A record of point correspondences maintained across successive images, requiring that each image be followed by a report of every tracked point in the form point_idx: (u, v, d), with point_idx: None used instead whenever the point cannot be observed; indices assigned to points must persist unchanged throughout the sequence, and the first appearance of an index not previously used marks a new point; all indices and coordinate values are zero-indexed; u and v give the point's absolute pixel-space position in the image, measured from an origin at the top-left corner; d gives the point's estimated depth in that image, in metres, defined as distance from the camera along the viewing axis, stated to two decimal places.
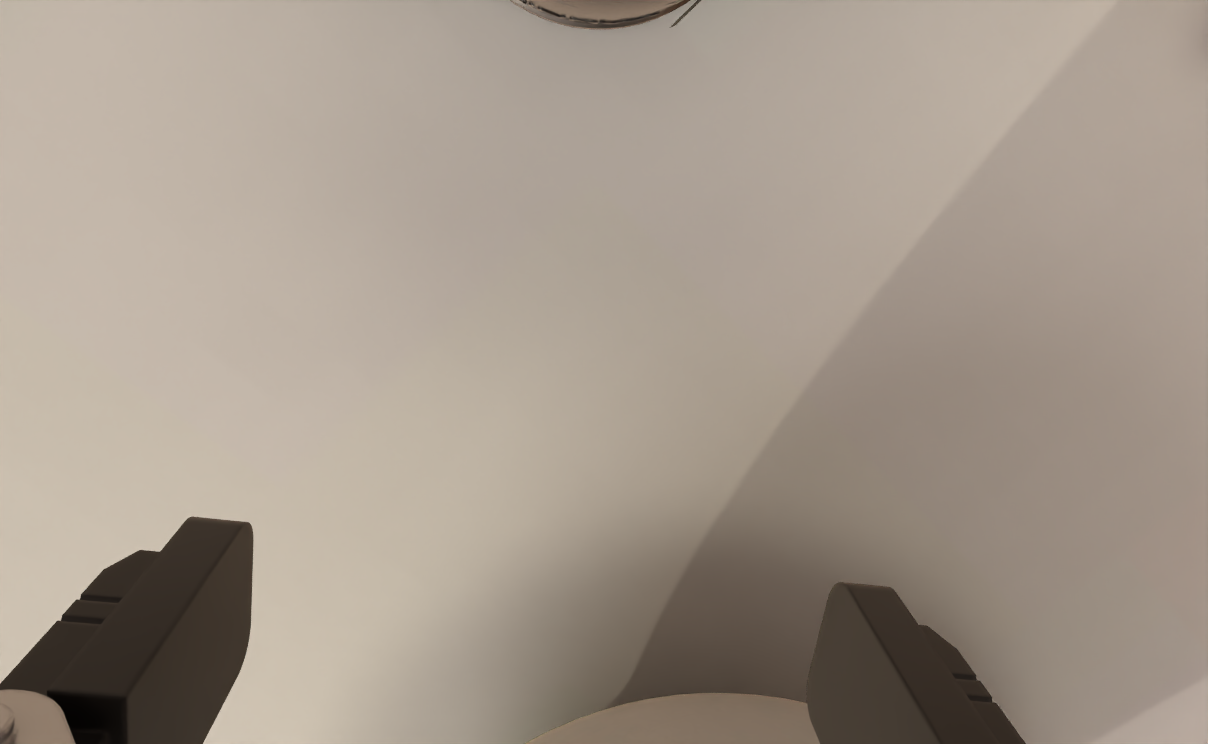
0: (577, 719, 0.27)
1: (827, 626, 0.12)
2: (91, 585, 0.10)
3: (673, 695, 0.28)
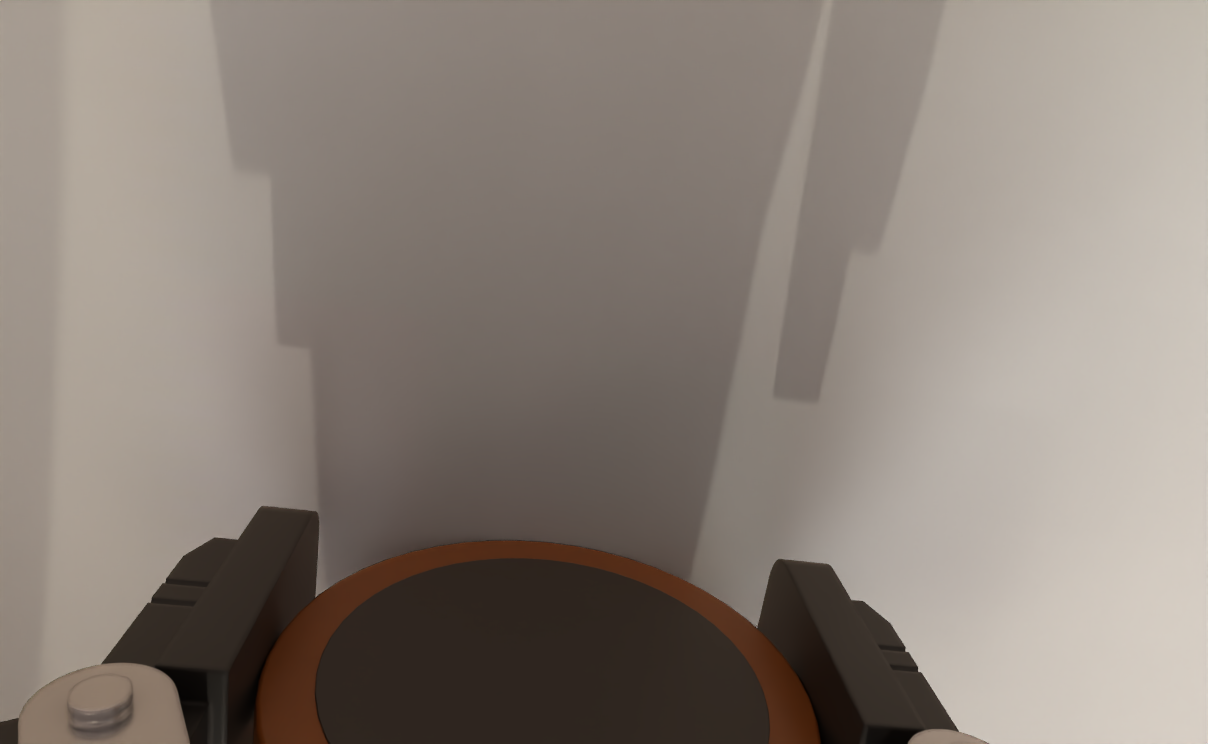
0: None
1: (768, 602, 0.13)
2: (174, 570, 0.11)
3: None
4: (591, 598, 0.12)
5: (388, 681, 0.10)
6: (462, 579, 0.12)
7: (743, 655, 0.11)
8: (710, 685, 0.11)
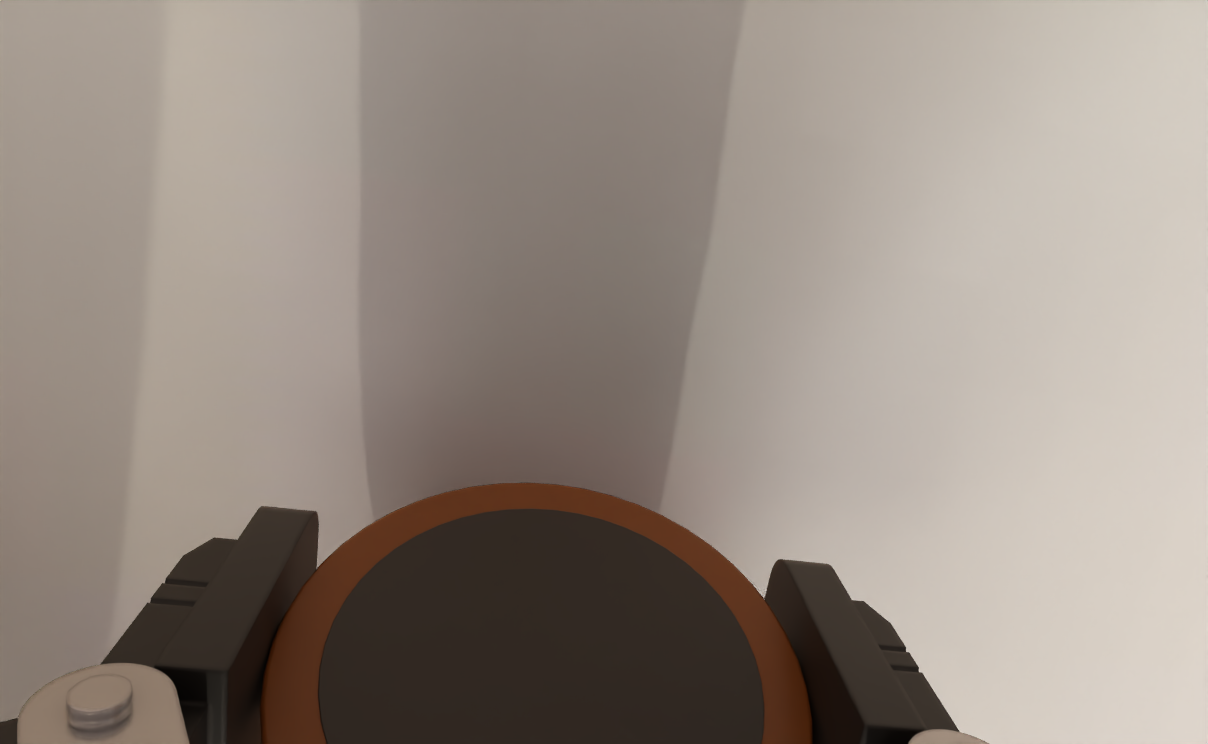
0: None
1: (769, 602, 0.13)
2: (174, 570, 0.11)
3: None
4: (596, 562, 0.12)
5: (390, 675, 0.10)
6: (467, 539, 0.12)
7: (745, 634, 0.11)
8: (708, 675, 0.11)
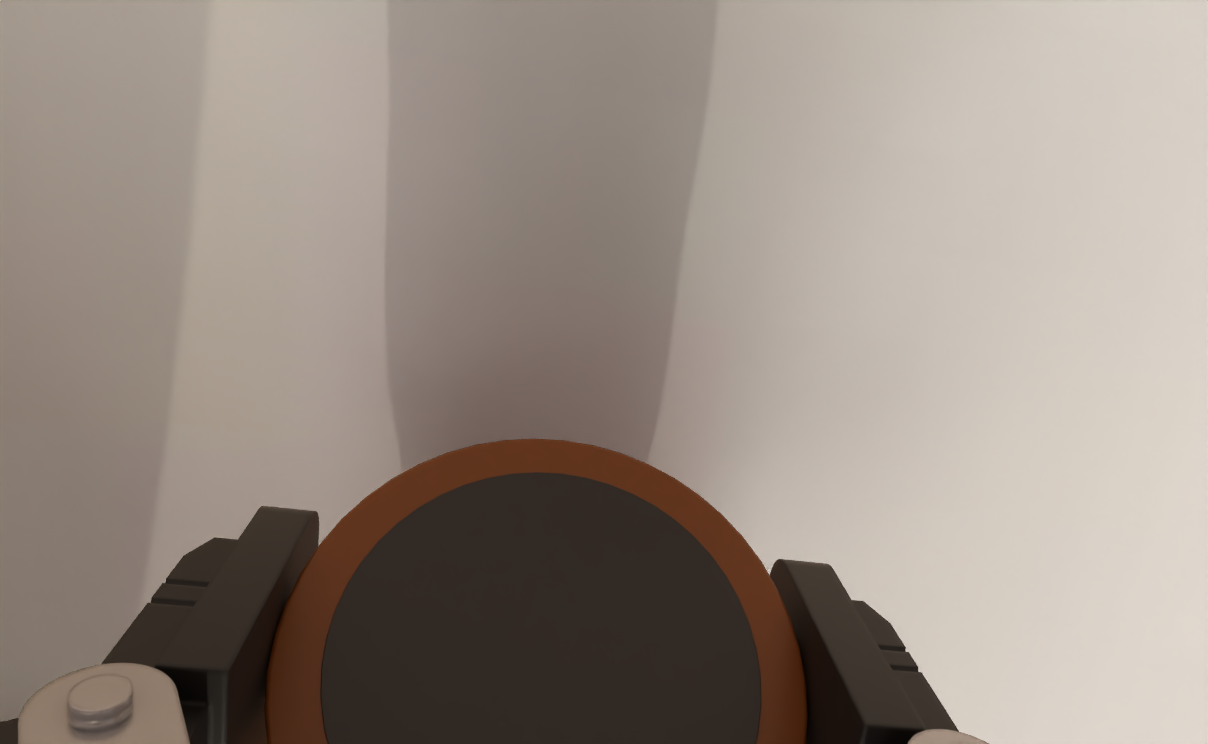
0: None
1: None
2: (174, 570, 0.11)
3: None
4: (602, 537, 0.12)
5: (391, 673, 0.10)
6: (470, 511, 0.12)
7: (748, 621, 0.11)
8: (707, 670, 0.11)
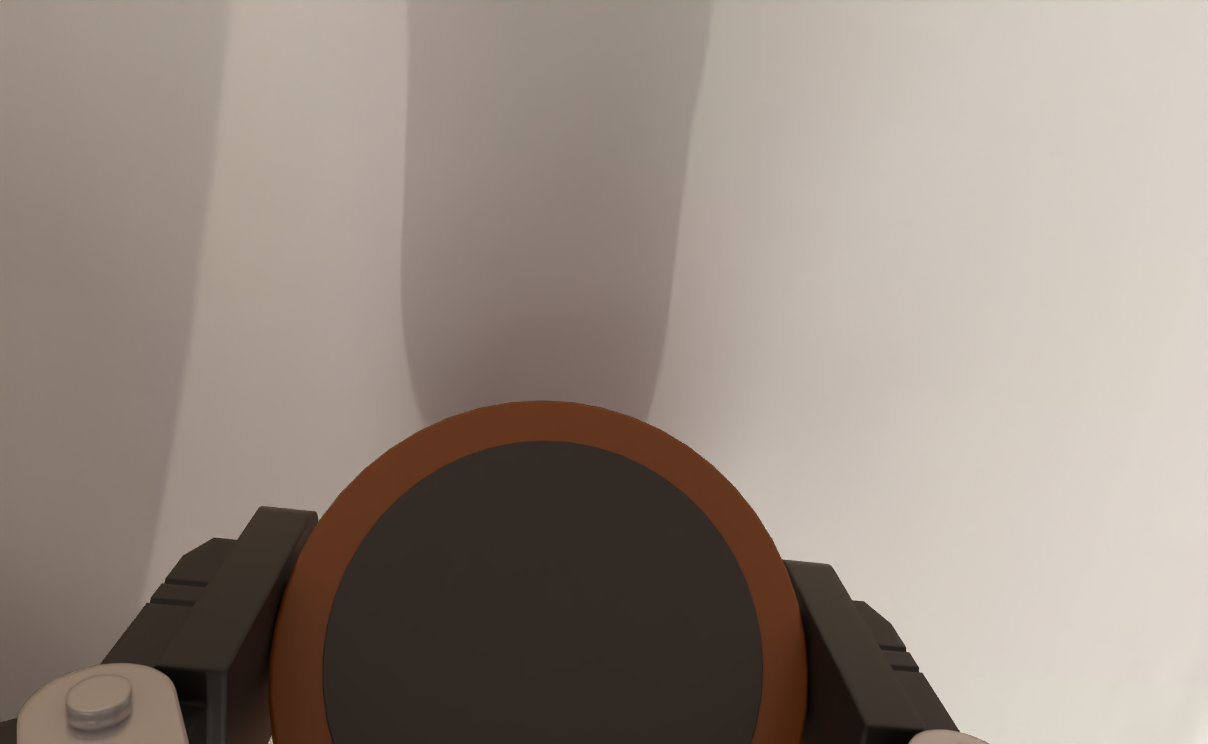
0: None
1: None
2: (173, 570, 0.11)
3: None
4: (609, 515, 0.11)
5: (393, 663, 0.10)
6: (472, 485, 0.11)
7: (755, 606, 0.11)
8: (710, 659, 0.11)
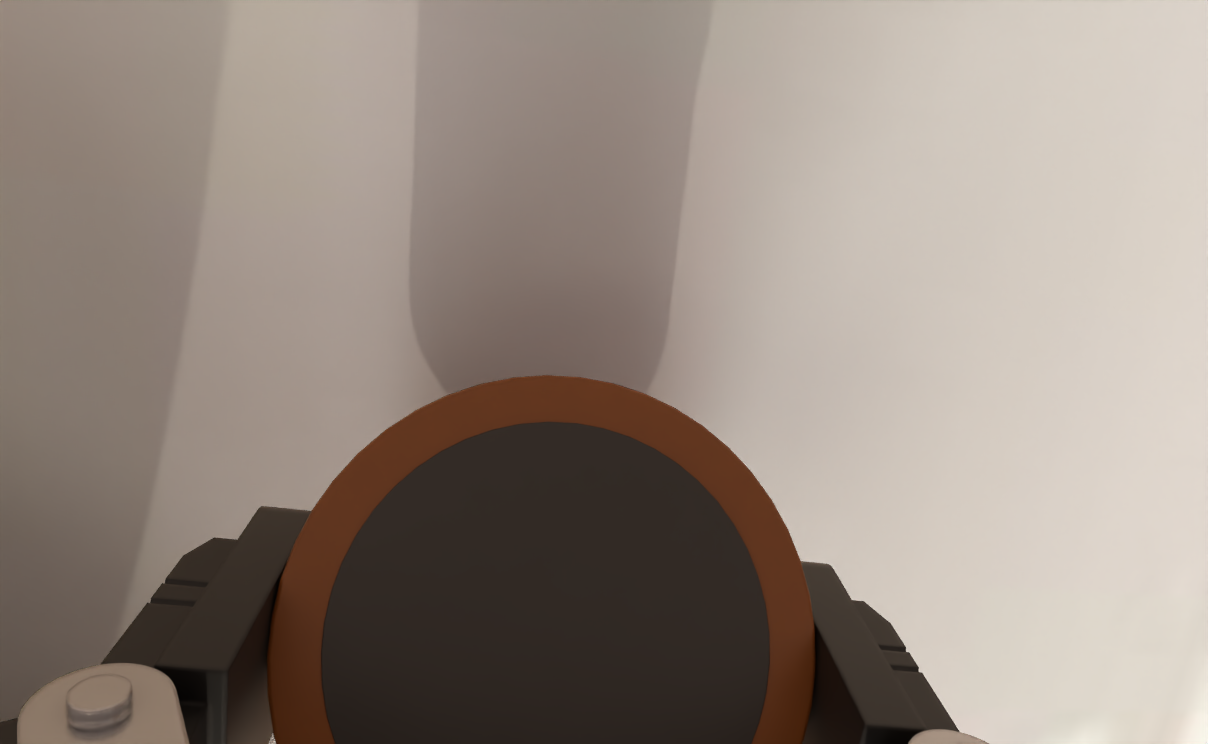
0: None
1: None
2: (173, 570, 0.11)
3: None
4: (616, 504, 0.11)
5: (392, 659, 0.10)
6: (473, 471, 0.11)
7: (765, 601, 0.11)
8: (716, 657, 0.10)
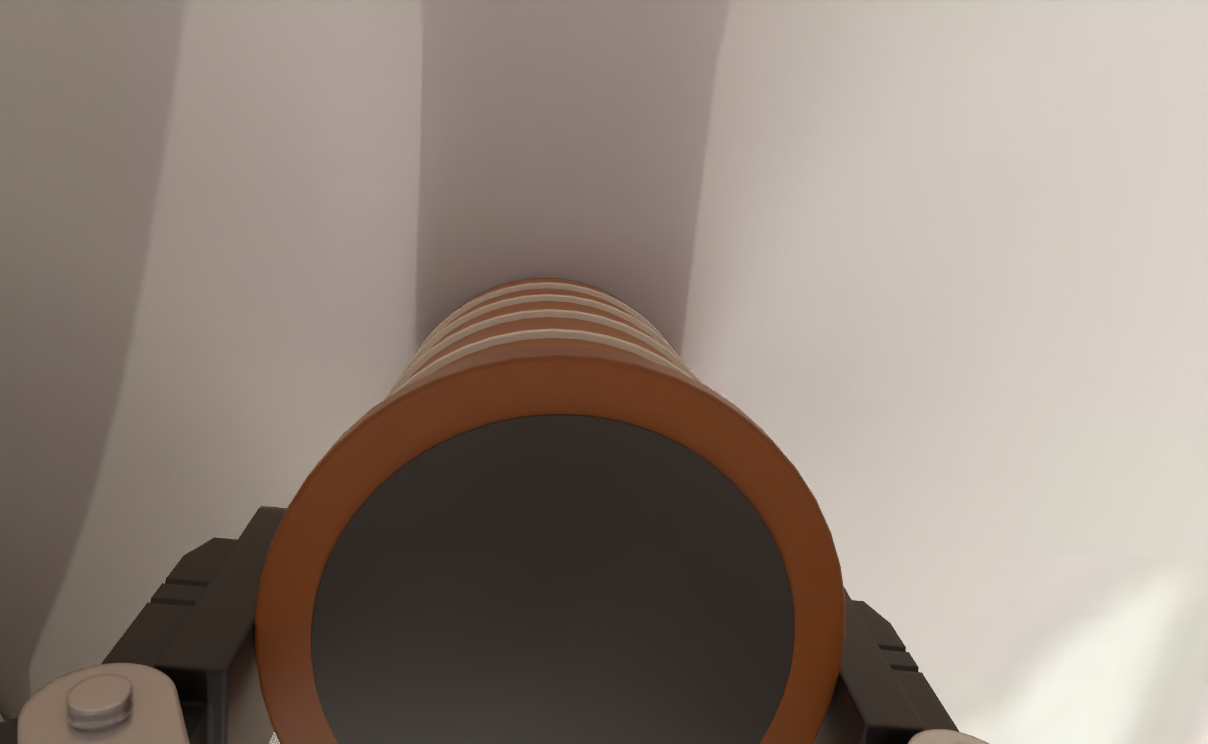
0: None
1: None
2: (174, 570, 0.11)
3: None
4: (634, 507, 0.09)
5: (387, 660, 0.09)
6: (468, 469, 0.09)
7: (793, 608, 0.10)
8: (733, 662, 0.10)
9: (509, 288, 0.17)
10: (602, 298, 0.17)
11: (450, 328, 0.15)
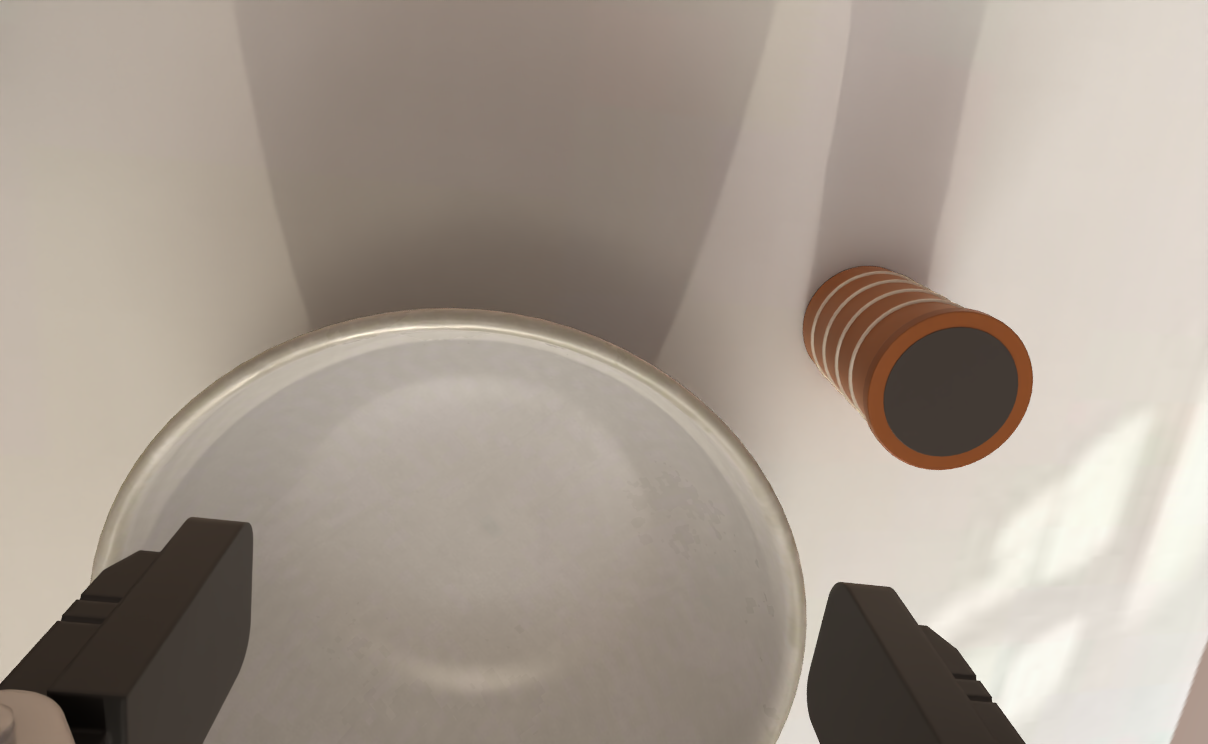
0: None
1: (827, 626, 0.12)
2: (92, 585, 0.10)
3: None
4: (977, 353, 0.33)
5: (903, 396, 0.33)
6: (934, 342, 0.33)
7: (1018, 383, 0.34)
8: (999, 399, 0.34)
9: (865, 273, 0.40)
10: (904, 278, 0.40)
11: (858, 292, 0.39)
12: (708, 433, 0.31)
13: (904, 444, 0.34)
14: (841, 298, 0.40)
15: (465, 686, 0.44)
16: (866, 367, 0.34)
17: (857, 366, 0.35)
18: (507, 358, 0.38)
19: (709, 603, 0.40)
